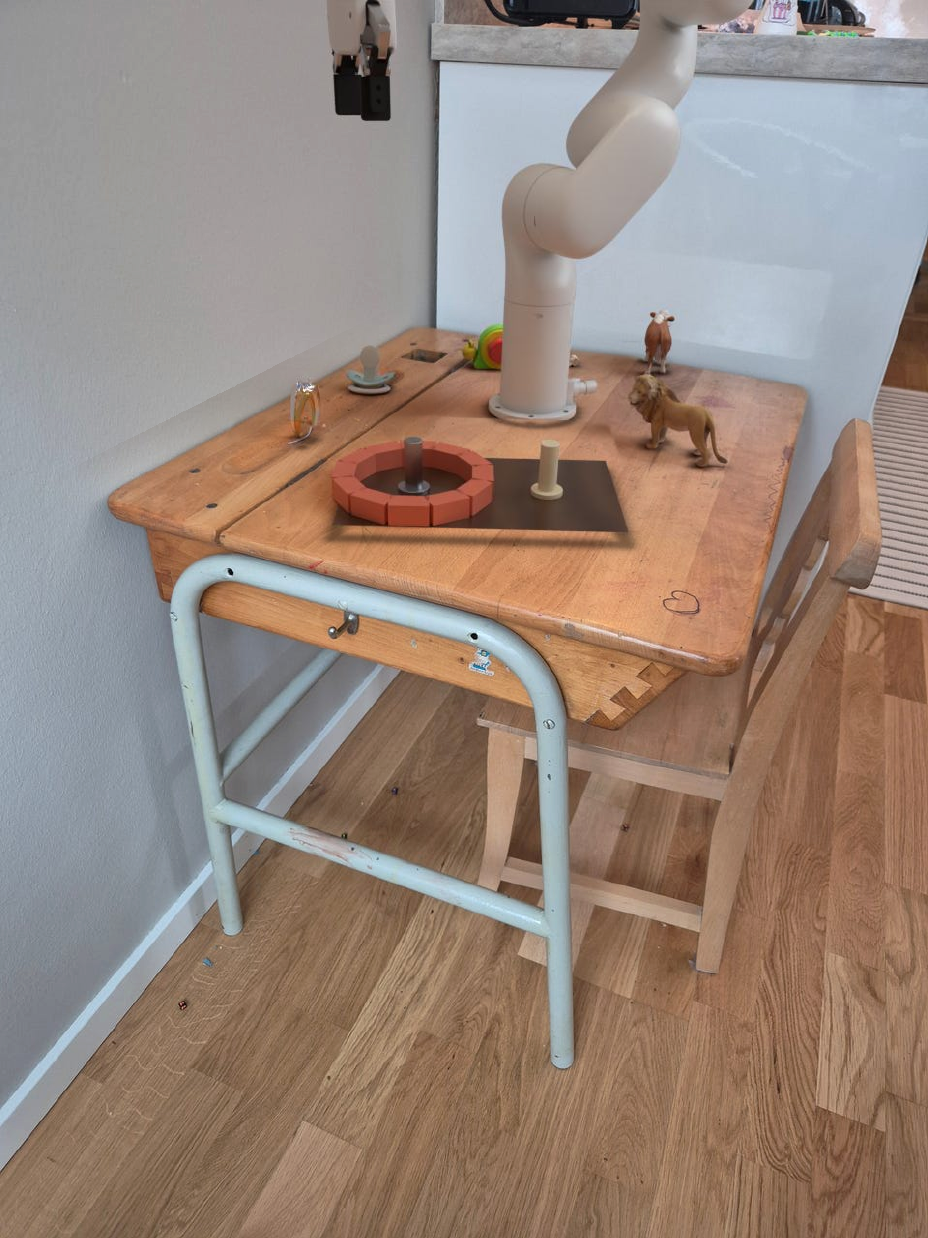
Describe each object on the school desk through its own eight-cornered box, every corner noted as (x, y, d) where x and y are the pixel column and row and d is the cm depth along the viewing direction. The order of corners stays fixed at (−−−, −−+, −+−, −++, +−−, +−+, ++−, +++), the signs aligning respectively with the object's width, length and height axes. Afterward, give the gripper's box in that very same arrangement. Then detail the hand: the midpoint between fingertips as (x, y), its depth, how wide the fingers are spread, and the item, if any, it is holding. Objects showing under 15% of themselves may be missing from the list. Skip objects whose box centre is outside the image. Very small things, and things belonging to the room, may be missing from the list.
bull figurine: (668, 356, 148) (676, 307, 144) (666, 380, 137) (674, 328, 133) (643, 354, 149) (649, 305, 144) (638, 377, 138) (645, 325, 133)
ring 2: (493, 528, 90) (494, 507, 88) (323, 524, 90) (321, 503, 88) (491, 461, 105) (492, 442, 103) (345, 457, 105) (344, 439, 103)
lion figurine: (615, 442, 114) (623, 376, 109) (636, 432, 118) (645, 366, 113) (717, 473, 106) (730, 402, 102) (736, 460, 110) (750, 391, 105)
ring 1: (306, 451, 110) (301, 390, 105) (284, 448, 110) (278, 387, 106) (331, 433, 115) (327, 374, 111) (310, 430, 116) (305, 371, 112)
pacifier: (390, 397, 128) (396, 383, 133) (389, 356, 124) (395, 343, 129) (342, 395, 128) (350, 381, 133) (339, 353, 125) (347, 341, 130)
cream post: (552, 484, 99) (557, 435, 96) (568, 497, 96) (572, 446, 93) (525, 489, 98) (528, 439, 95) (539, 502, 95) (543, 451, 92)
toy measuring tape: (459, 360, 144) (460, 320, 140) (573, 359, 146) (577, 319, 142) (464, 372, 138) (464, 331, 135) (582, 370, 140) (585, 330, 137)
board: (604, 471, 106) (606, 460, 105) (627, 544, 90) (628, 531, 90) (354, 465, 106) (353, 454, 105) (332, 537, 90) (332, 524, 90)
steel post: (423, 481, 99) (422, 432, 96) (434, 494, 96) (434, 443, 93) (393, 486, 98) (392, 436, 95) (404, 499, 95) (403, 448, 92)
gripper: (419, -87, 81) (421, 122, 90) (364, -68, 94) (370, 113, 104) (343, -93, 78) (352, 123, 88) (296, -73, 92) (309, 113, 101)
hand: (362, 117), depth 96 cm, fingers open, 9 cm apart
